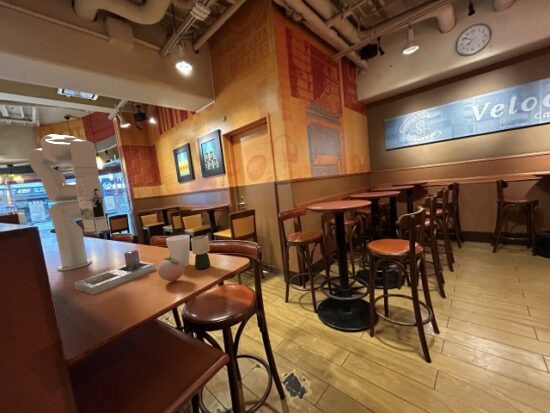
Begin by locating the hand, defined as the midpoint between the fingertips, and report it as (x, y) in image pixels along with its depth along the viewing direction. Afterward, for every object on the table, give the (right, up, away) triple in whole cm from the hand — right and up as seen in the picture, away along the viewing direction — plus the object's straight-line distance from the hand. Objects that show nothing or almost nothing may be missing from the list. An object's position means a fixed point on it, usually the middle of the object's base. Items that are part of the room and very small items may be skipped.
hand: (94, 216), depth 91 cm
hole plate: (+10, -25, 0) cm, 27 cm away
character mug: (+42, -22, +5) cm, 48 cm away
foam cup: (+32, -22, +9) cm, 40 cm away
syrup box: (+1, -6, +1) cm, 6 cm away
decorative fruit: (+35, -24, -8) cm, 43 cm away
